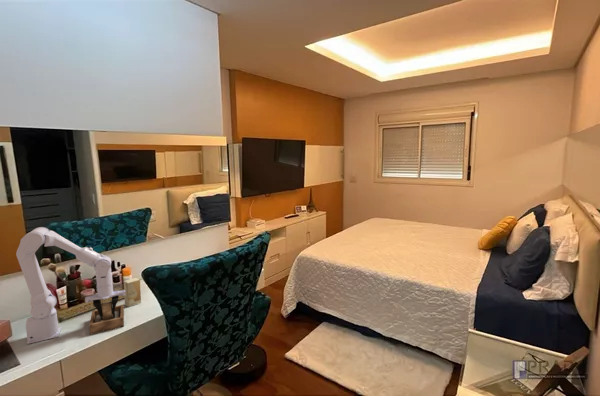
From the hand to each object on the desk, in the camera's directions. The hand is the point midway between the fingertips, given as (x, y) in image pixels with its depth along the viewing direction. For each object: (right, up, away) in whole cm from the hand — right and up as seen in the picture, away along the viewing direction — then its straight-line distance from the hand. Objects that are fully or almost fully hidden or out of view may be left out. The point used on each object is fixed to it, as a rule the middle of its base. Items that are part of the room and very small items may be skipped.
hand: (107, 314), depth 132 cm
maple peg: (0, -2, 0) cm, 2 cm away
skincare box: (+1, -2, +18) cm, 19 cm away
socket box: (0, -4, +1) cm, 4 cm away
